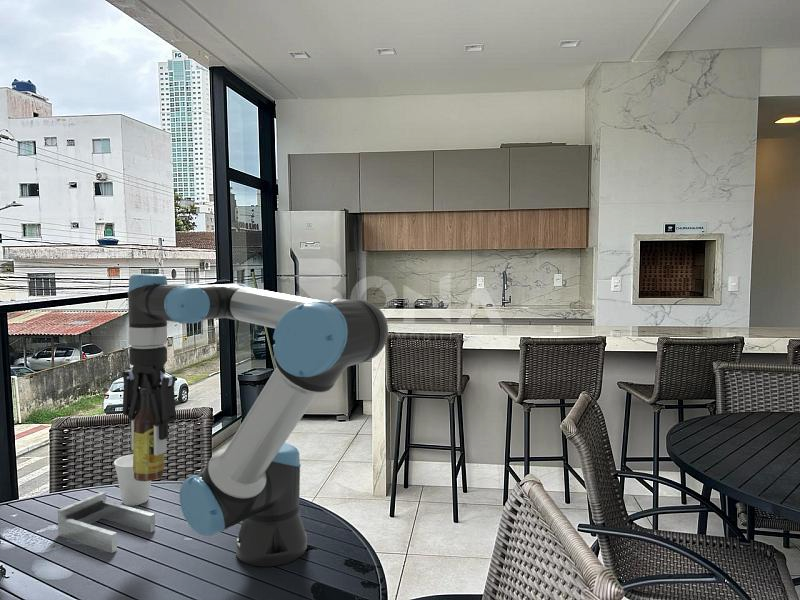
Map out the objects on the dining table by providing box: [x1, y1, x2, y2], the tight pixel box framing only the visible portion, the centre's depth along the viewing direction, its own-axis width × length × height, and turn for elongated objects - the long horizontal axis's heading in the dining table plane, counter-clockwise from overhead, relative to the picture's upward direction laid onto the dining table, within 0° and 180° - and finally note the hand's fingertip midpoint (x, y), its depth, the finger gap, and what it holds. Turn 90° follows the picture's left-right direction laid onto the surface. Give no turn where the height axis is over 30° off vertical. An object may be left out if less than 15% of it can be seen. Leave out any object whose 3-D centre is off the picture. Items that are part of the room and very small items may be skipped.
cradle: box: [57, 491, 156, 554], centre depth 129 cm, size 17×11×6 cm, turn 66°
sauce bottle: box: [132, 388, 165, 482], centre depth 124 cm, size 7×6×20 cm
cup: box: [113, 453, 152, 507], centre depth 146 cm, size 10×10×11 cm
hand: (149, 450), depth 124 cm, fingers closed on sauce bottle, 6 cm apart
